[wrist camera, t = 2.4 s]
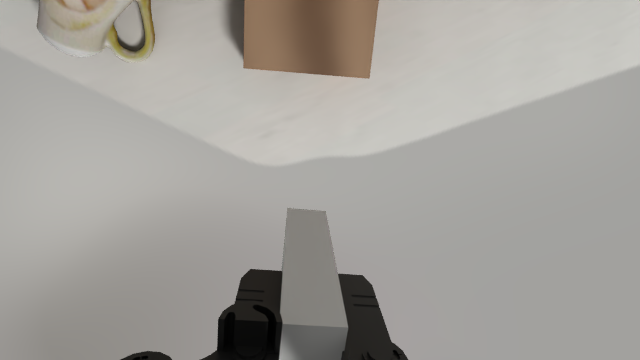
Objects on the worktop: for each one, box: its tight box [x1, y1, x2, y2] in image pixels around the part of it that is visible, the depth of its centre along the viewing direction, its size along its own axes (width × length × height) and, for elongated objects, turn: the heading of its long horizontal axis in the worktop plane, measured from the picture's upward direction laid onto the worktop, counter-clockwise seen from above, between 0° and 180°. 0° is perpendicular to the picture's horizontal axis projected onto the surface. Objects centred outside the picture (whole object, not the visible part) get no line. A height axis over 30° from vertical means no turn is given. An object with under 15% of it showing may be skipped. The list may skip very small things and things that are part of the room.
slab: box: [244, 0, 379, 78], centre depth 26 cm, size 9×10×4 cm
